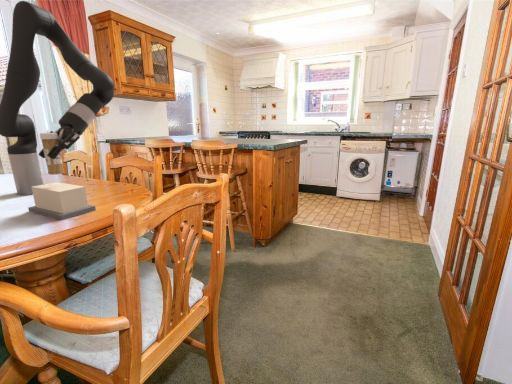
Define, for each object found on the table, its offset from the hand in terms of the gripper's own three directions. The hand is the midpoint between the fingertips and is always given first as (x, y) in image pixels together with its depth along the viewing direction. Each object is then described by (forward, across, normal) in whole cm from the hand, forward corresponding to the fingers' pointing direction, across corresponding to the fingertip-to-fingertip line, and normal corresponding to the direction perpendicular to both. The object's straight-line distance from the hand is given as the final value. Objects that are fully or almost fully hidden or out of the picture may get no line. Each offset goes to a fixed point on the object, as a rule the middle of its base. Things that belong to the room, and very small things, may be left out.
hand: (46, 156), depth 84 cm
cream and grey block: (+12, 0, +15) cm, 19 cm away
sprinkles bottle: (+3, 0, +6) cm, 6 cm away
